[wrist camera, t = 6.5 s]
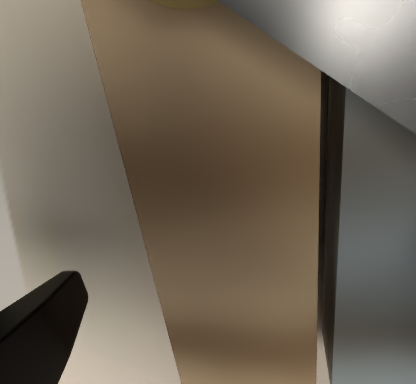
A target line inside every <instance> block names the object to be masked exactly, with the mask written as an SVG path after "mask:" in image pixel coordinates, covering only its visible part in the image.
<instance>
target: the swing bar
mask: <svg viewBox="0 0 416 384" xmlns="http://www.w3.org/2000/svg"><path fill="white" fill-rule="evenodd" d="M217 1H219V2H220V3H222V4H223V5H225V6H226V7H228V8H229V9H231V10H232V11H234V12H235V13H237V14H238V15H239V16H241V17H242V18H244V19H245V20H247V21H248V22H250V23H251V24H253V25H254V26H256V27H257V28H259V29H260V30H262V31H263V32H265V33H266V34H268V35H269V36H271V37H272V38H274V39H275V40H277V41H278V42H280V43H281V44H283V45H284V46H285V47H287V48H288V49H290V50H291V51H293V52H294V53H296V54H297V55H299V56H300V57H302V58H303V59H305V60H306V61H308V62H309V63H311V64H312V65H314V66H315V67H317V68H318V69H320V70H321V71H323V72H324V73H326V74H327V75H329V76H330V77H332V78H333V79H334V80H336V81H337V82H339V83H340V84H342V85H343V86H345V87H346V88H348V89H349V90H351V91H352V92H354V93H355V94H357V95H358V96H360V97H361V98H363V99H364V100H366V101H367V102H369V103H370V104H372V105H373V106H375V107H376V108H378V109H379V110H380V111H382V112H383V113H385V114H386V115H388V116H389V117H391V118H392V119H394V120H395V121H397V122H398V123H400V124H401V125H403V126H404V127H406V128H407V129H409V130H410V131H412V132H413V133H415V134H416V0H217Z"/></svg>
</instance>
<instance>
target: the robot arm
mask: <svg viewBox="0 0 416 384" xmlns="http://www.w3.org/2000/svg"><path fill="white" fill-rule="evenodd" d="M87 302H88V293H87V290H86V288H85V285H84V282H83V280H82V277H81V275H80V273H79V272H77V271H63V272H61V273H59V274H58V275H56V276H54V277H53V278H51V279H50V280H48V281H47V282H45V283H44V284H42V285H41V286H39V287H37V288H36V289H34V290H33V291H31V292H30V293H28V294H27V295H25V296H23V297H22V298H20V299H19V300H17V301H16V302H14V303H13V304H11V305H10V306H8V307H7V308H5V309H4V310H2V311H0V384H58V382H59V380H60V378H61V375H62V373H63V371H64V369H65V366H66V364H67V361H68V359H69V357H70V354H71V351H72V348H73V346H74V342H75V339H76V336H77V333H78V330H79V327H80V324H81V321H82V318H83V315H84V312H85V309H86V306H87Z"/></svg>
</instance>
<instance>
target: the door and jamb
mask: <svg viewBox="0 0 416 384" xmlns="http://www.w3.org/2000/svg"><path fill="white" fill-rule="evenodd" d="M81 3H82V6H83V10H84V14H85V18H86V22H87V25H88V29H89V33H90V37H91V41H92V44H93V48H94V52H95V56H96V60H97V64H98V67H99V71H100V75H101V79H102V83H103V86H104V90H105V94H106V98H107V102H108V105H109V109H110V113H111V117H112V121H113V125H114V128H115V132H116V136H117V140H118V144H119V147H120V151H121V155H122V159H123V163H124V167H125V170H126V174H127V178H128V182H129V186H130V189H131V193H132V197H133V201H134V205H135V208H136V212H137V216H138V220H139V224H140V228H141V231H142V235H143V239H144V243H145V247H146V250H147V254H148V258H149V262H150V266H151V270H152V273H153V277H154V281H155V285H156V289H157V292H158V296H159V300H160V304H161V308H162V311H163V315H164V319H165V323H166V327H167V331H168V334H169V338H170V342H171V346H172V350H173V353H174V357H175V361H176V365H177V369H178V373H179V376H180V380H181V384H316V360H317V297H318V234H319V170H320V107H321V70H320V69H318V68H317V67H315V66H314V65H312V64H311V63H309V62H308V61H306V60H305V59H303V58H302V57H300V56H299V55H297V54H296V53H294V52H293V51H291V50H290V49H288V48H287V47H285V46H284V45H283V44H281V43H280V42H278V41H277V40H275V39H274V38H272V37H271V36H269V35H268V34H266V33H265V32H263V31H262V30H260V29H259V28H257V27H256V26H254V25H253V24H251V23H250V22H248V21H247V20H245V19H244V18H242V17H241V16H239V15H238V14H237V13H235V12H234V11H232V10H231V9H229V8H228V7H226V6H225V5H223V4H222V3H220V2H219V1H217V0H81ZM322 334H323V340H324V347H325V353H326V359H327V366H328V372H329V379H330V384H416V134H415V133H413V132H412V131H410V130H409V129H407V128H406V127H404V126H403V125H401V124H400V123H398V122H397V121H395V120H394V119H392V118H391V117H389V116H388V115H386V114H385V113H383V112H382V111H380V110H379V109H378V108H376V107H375V106H373V105H372V104H370V103H369V102H367V101H366V100H364V99H363V98H361V97H360V96H358V95H357V94H355V93H354V92H352V91H351V90H349V89H348V88H346V87H345V86H343V85H342V84H340V83H339V82H337V81H336V80H334V79H333V78H332V77H330V76H329V101H328V139H327V177H326V216H325V254H324V292H323V330H322Z"/></svg>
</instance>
